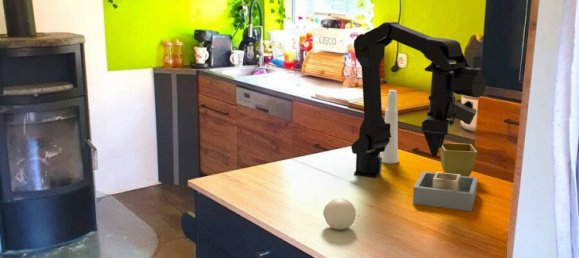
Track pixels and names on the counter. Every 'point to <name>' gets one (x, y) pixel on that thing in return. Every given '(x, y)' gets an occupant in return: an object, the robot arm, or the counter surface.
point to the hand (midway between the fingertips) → (437, 151)
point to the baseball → (339, 213)
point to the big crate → (445, 193)
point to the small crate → (446, 181)
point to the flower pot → (458, 158)
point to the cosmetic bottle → (391, 130)
